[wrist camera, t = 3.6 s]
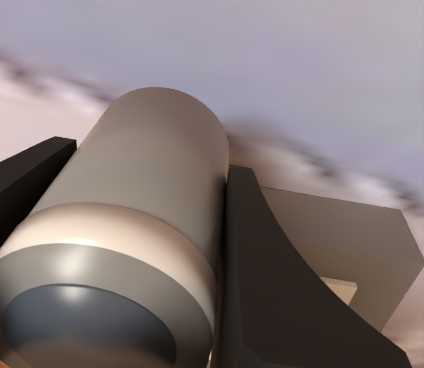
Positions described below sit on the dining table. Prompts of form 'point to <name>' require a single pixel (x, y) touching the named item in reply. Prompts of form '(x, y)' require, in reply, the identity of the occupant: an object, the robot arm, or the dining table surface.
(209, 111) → the lens
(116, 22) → the dining table surface
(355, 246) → the grey frame block
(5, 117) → the dining table surface
